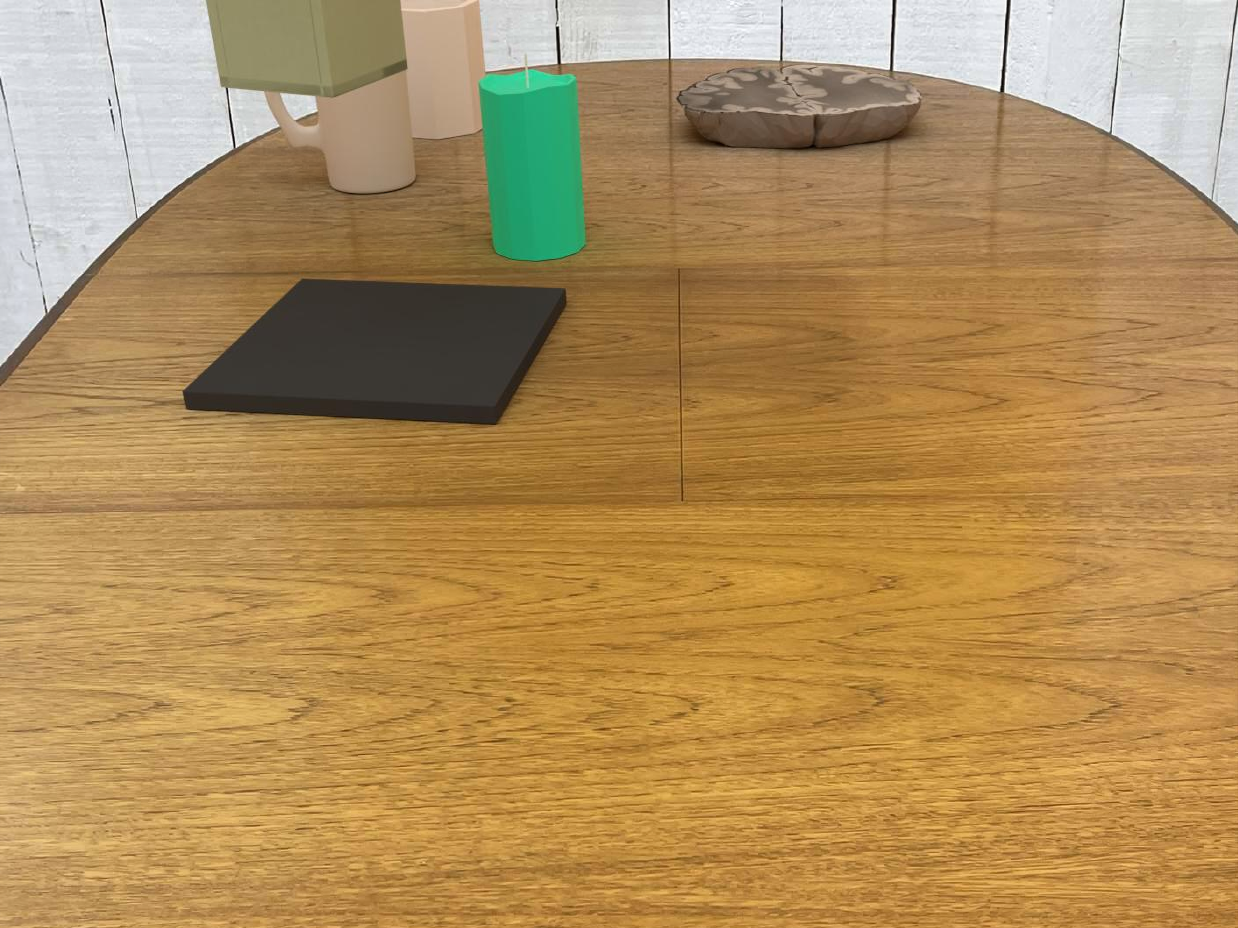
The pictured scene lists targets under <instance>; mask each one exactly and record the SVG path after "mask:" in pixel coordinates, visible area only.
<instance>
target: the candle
mask: <svg viewBox="0 0 1238 928" xmlns="http://www.w3.org/2000/svg"><path fill="white" fill-rule="evenodd" d="M523 55H524V57H523V58H524V68H525V70H522V71H519V72H515V73H510V74H491V73H490V74H488V73H487V74H486V76H485V77H484V78H482V79H481V80H480V81H479V82H478V84H479V95H480V107H481V118H482V129H481V130H482V139H483V149H484V151H483V152H484V161H485V172H486V183H487V195H488V204H489V216H490V217H489V218H490V227H491V239H492V246H493V249H494V251H495V253H496V254H497V255H500V256H502V257H506V258H508V259H511V260H520V261H530V262H531V261H532V262H537V261H545V260H556V259H562V258H566V257H568V256H571V255H574V254H577V253H579V252H580V251H581V250H582V249H583V248H584V247H585V246H586V245H587V241H586V225H585V223H586V221H585V205H584V189H583V188H584V187H583V169H582V152H581V151H582V150H581V133H580V131H581V130H580V118H579V117H580V115H579V113H580V112H579V98H578V80H577V77H576V76H575V75H574V74H573V73H565V74H557V75H555V74H551V73H547V72H544V71H540V70H536V69H533V68H530V69H529V68H528V67H529V66H528V53H524V54H523Z"/></svg>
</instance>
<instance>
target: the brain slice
mask: <svg viewBox="0 0 1238 928" xmlns="http://www.w3.org/2000/svg"><path fill="white" fill-rule="evenodd" d="M922 99H923V95H922V93H921V92H920V91H919V90H918V88H917V87H916V86H915V85H914V84H913V83H911V82H910V81H909V80H907V79H903V78H894V77H891V76H888V75H884V74H882V73H873V72H867V71H866V70H860V69H856V68H855V69H854V68H846V67H840V66H834V65H817V64H802V63H801V64H790V65H785V66H782V67H781V68H779V69H777V68H772V67H765V66H763V67H762V66H756V67H739V68H738V67H737V68H733V69H729V70H727V71H725V72H716V73H712V74H709V75H708V76H705V77H704V80H703V79H702V80H699V81H695V82H694V83H692V84H691V85H690V86H688V87H686V88H685V89H681V90H680V91H678V95H677V96H676V97H675V100H676V101H677V102H678V104H679V105H680V106H681V107H683V113H684V115H685V117H686V119H687V120H688V121H690V122H691V123H692V124H693V125H694V126H695V127H696V130H697V132H698V133H699V134H700V135H701V136H702V137H703V138H704V139H706V140H707V141H709V142H715V143H719V144H723V145H725V146H727V147H735V148H738V147H739V148H767V149H801V148H809V147H811V146H815V148H820V149H821V148H836V147H838V148H839V147H842V146H847V145H854V144H856V145H857V144H865V143H869V142H878V141H883V140H888V139H891V137H894V136H895V135H897V134H898V133H899V132H900V131H902V130H904V128H905V127H906V125H908V124H910V123H911V121H912V120H913V119H914V118H915V117H916V115H917V114H918V112H919V110H920V109H921V105H922Z"/></svg>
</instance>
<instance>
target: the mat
mask: <svg viewBox="0 0 1238 928" xmlns="http://www.w3.org/2000/svg"><path fill="white" fill-rule="evenodd" d="M566 306H567V291H566V288H564V287H544V286H543V287H542V286H541V287H540V286H519V285H518V286H516V285H515V286H513V285H487V284H459V283H433V282H411V281H410V282H409V281H408V282H405V281H382V280H381V281H379V280H378V281H377V280H357V279H355V280H354V279H351V280H350V279H327V278H325V279H324V278H301V279H300V280H299V281H297V283H295V284H294V285H293V287H291V288H290V289H289V290H288V291H287V292H286V293H285V294H284V295H283V296H281V298H280V299H279V300H278V301H277V302H276V303H275V304H273V305H272V306H271V307H270V308H269V309H268V310H267V311H266V312H265V313H264V314H262V315H261V316H260V318H258V319H257V320H256V321H255V322H254V323H253V324H252V325H251V326H250V327H249V328H248V329H246V331H244V332H243V334H242V335H240V336H239V337H238V338H237V339H236V340H235V341H234V342H233V343H232V344H231V345H230V346H229V347H228V348H227V349H226V350H224V351H223V352H222V353H221V354H220V355H219V356H217V358H216V359H215V360H214V361H212V363H211V364H210V365H208V367H206V368H205V369H204V370H203V371H202V372H201V373H200V374H199V375H198V376H197V377H196V378H195V379H194V380H193V381H191V383H189V385H187V386H186V387H185V388H184V389H183V390H182V396H183V401H184V405H185V409H186V410H199V411H221V412H240V413H241V412H243V413H261V414H280V415H281V414H282V415H302V416H322V417H341V418H342V417H346V418H362V419H363V418H364V419H382V420H383V419H384V420H402V421H403V420H405V421H406V420H407V421H424V422H426V421H427V422H443V423H445V422H447V423H464V424H466V423H467V424H483V425H488V424H489V425H497V424H498V423H499V420H500V419H501V417H502V415H503V414H504V412H505V410H506V409H507V407H508V405H509V403H510V402H511V400H512V398H513V397H514V395H515V393H516V392H517V389H518V388H519V386H520V384H521V383H522V381H523V380H524V377H525V376H526V374H527V373H528V371H529V369H530V368H531V366H532V364H533V363H534V360H535V359H536V357H537V356H538V354H539V352H540V350H541V349H542V347H543V346H544V343H545V342H546V340H547V338H548V336H549V335H550V333H551V331H552V330H553V328H554V327H555V325H556V323H557V321H558V320H559V317H560V316H561V315H562V313H563V311H564V309H565V307H566Z"/></svg>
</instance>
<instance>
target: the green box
mask: <svg viewBox="0 0 1238 928" xmlns="http://www.w3.org/2000/svg"><path fill="white" fill-rule="evenodd" d="M205 3H206V4H205V5H206V10H207V15H208V21H209V26H210V32H211V33H210V34H211V39H212V44H213V49H214V56H215V61H216V68H217V73H218V78H219V84H220V88H225V89H226V88H227V89H237V90H247V91H248V90H249V91H256V92H264V91H266V92H277V93H280V94H287V95H299V96H309V97H315V96H318V97H330V98H334V97H337V96H339V95H342V94H344V93H347V92H350V91H352V90H355V89H358V88H360V87H363V86H365V85H368V84H371V83H373V82H376V81H378V80H381V79H384V78H386V77H389V76H391V75H394V74H397V73H399V72H402V71H404V70H407V69H408V67H407V58H406V48H405V39H404V30H403V21H402V11H401V2H400V0H205Z"/></svg>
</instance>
